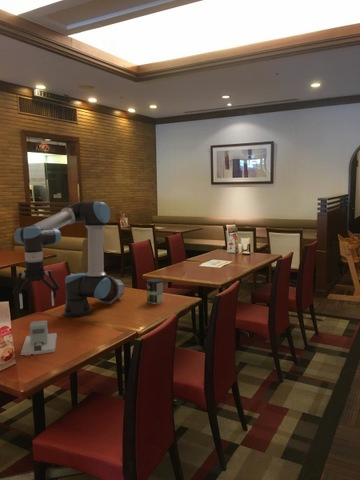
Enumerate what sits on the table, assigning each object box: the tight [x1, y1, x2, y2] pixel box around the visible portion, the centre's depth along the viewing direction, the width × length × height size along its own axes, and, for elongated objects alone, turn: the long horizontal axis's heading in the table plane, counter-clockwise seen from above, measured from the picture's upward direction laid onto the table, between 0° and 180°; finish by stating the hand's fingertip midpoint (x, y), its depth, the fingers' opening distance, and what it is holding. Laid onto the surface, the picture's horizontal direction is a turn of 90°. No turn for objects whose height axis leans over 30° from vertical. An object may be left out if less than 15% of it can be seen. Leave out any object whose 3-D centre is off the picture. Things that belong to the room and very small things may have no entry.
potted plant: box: [97, 275, 125, 305], centre depth 243 cm, size 18×18×30 cm
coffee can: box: [146, 277, 164, 305], centre depth 246 cm, size 10×10×14 cm
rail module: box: [29, 319, 49, 346], centre depth 179 cm, size 7×7×9 cm
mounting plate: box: [20, 332, 58, 356], centre depth 180 cm, size 14×20×4 cm
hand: (37, 306), depth 178 cm, fingers open, 13 cm apart
